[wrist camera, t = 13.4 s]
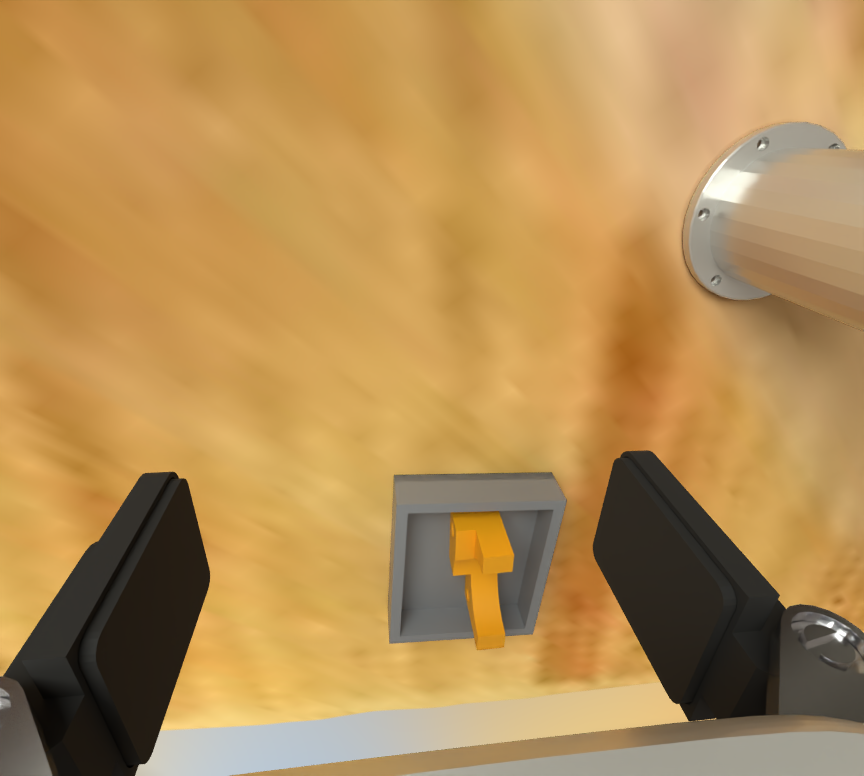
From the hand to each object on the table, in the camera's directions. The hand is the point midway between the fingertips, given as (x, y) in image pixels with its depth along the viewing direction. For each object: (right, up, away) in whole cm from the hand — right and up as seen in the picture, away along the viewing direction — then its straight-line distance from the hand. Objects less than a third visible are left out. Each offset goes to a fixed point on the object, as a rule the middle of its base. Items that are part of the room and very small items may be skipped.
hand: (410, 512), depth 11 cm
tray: (+4, -13, +39) cm, 41 cm away
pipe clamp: (+4, -13, +38) cm, 41 cm away
